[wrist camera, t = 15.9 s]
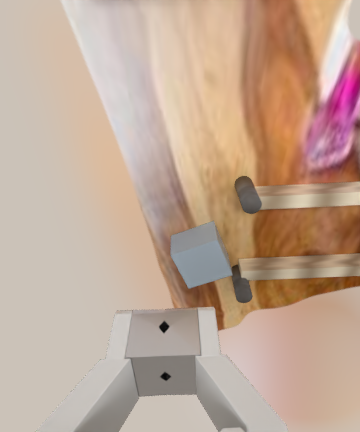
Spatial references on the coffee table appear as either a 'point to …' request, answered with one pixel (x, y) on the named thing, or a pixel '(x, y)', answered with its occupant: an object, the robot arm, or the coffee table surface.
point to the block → (200, 255)
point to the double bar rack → (293, 265)
